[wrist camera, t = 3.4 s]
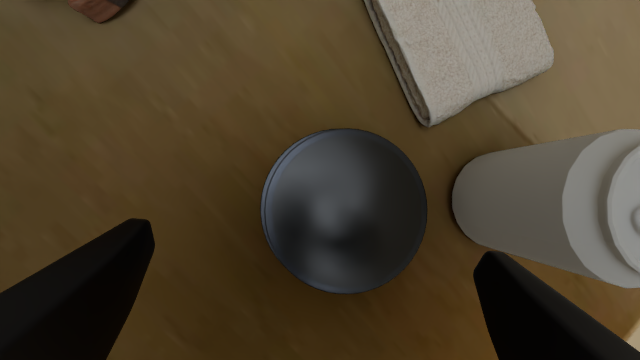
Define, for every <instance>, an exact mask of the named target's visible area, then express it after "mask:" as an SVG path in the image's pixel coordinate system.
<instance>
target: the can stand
mask: <svg viewBox="0 0 640 360" xmlns="http://www.w3.org/2000/svg"><path fill="white" fill-rule="evenodd" d="M260 211H261V222H262V227H263V231H264V234H265V237H266V240H267V242H268V244H269V246H270V248H271V250H272V252H273V253H274V255H275V256H276V258H277V259H278V260H279V261H280V262H281V263H282V265H283V266H284V267H285V268H287V269H288V271H290V272H291V273H292V274H293V275H294V276H295V277H296V278H298V279H299V280H301V281H302V282H304V283H305V284H307V285H309V286H311V287H314V288H316V289H319V290H322V291H325V292H330V293H335V294H355V293H361V292H366V291H369V290H372V289H375V288H377V287H380V286H382V285H383V284H385V283H387V282H389V281H390V280H392V279H393V278H394V277H396V276H397V275H398V274H399V273H400V272H401V271H402V270H404V269H405V267H406V266H407V265H408V264H409V263H410V261H411V260H412V259H413V257H414V255H415V254H416V252H417V250H418V248H419V246H420V244H421V242H422V239H423V236H424V233H425V228H426V223H427V199H426V194H425V189H424V186H423V183H422V180H421V178H420V176H419V174H418V172H417V170H416V168H415V167H414V165H413V164H412V162H411V161H410V160H409V158H408V157H407V156H406V155H405V154H404V153H403V152H402V151H401V150H400V149H399V148H398V147H397V146H395V145H394V144H393V143H391V142H390V141H388V140H387V139H385V138H383V137H381V136H379V135H376V134H374V133H371V132H368V131H363V130H359V129H329V130H323V131H319V132H316V133H313V134H310V135H308V136H306V137H304V138H302V139H300V140H299V141H297V142H296V143H294V144H293V145H291V146H290V147H289V148H288V149H287V150H285V151H284V153H283V154H282V155H281V156H280V157H279V158H278V159H277V161H276V162H275V164H274V165H273V166H272V168H271V170H270V172H269V174H268V176H267V178H266V181H265V184H264V187H263V191H262V196H261V206H260Z"/></svg>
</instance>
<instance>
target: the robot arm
mask: <svg viewBox="0 0 640 360" xmlns="http://www.w3.org/2000/svg"><path fill="white" fill-rule="evenodd" d="M154 248H155V242H154V237H153V233H152V228H151V224H150V222H149V221H148V220H146V219H136V218H131V219H128V220H126V221H125V222H123V223H121V224H119V225H118V226H116V227H114V228H113V229H111V230H109V231H107V232H106V233H104V234H102V235H100V236H99V237H97V238H95V239H93V240H92V241H90V242H88V243H87V244H85V245H83V246H81V247H80V248H78V249H76V250H74V251H73V252H71V253H69V254H67V255H66V256H64V257H62V258H61V259H59V260H57V261H55V262H54V263H52V264H50V265H48V266H47V267H45V268H43V269H42V270H40V271H38V272H36V273H35V274H33V275H31V276H29V277H28V278H26V279H24V280H22V281H21V282H19V283H17V284H16V285H14V286H12V287H10V288H9V289H7V290H5V291H3V292H2V293H0V360H106V359H107V357H108V355H109V353H110V351H111V349H112V347H113V345H114V343H115V341H116V339H117V337H118V335H119V333H120V331H121V329H122V327H123V325H124V323H125V321H126V320H127V317H128V315H129V313H130V311H131V309H132V307H133V304H134V302H135V300H136V297H137V294H138V292H139V289H140V286H141V284H142V281H143V279H144V276H145V273H146V271H147V268H148V265H149V263H150V260H151V258H152V255H153V252H154ZM473 277H474V282H475V285H476V289H477V293H478V296H479V300H480V304H481V307H482V311H483V314H484V318H485V322H486V325H487V328H488V332H489V334H490V337H491V340H492V343H493V345H494V348H495V351H496V353H497V356H498V359H499V360H640V352H639V351H637V350H636V349H635V348H633V347H632V346H631V345H629V344H628V343H627V342H625V341H624V340H622V339H621V338H620V337H618V336H617V335H616V334H614V333H613V332H612V331H610V330H609V329H607V328H606V327H605V326H603V325H602V324H601V323H599V322H598V321H596V320H595V319H594V318H592V317H591V316H590V315H588V314H587V313H586V312H584V311H583V310H581V309H580V308H579V307H577V306H576V305H575V304H573V303H572V302H570V301H569V300H568V299H566V298H565V297H564V296H562V295H561V294H560V293H558V292H557V291H555V290H554V289H553V288H551V287H550V286H549V285H547V284H546V283H545V282H543V281H542V280H540V279H539V278H538V277H536V276H535V275H534V274H532V273H531V272H529V271H528V270H527V269H525V268H524V267H523V266H521V265H520V264H519V263H517V262H516V261H514V260H513V259H512V258H510V257H509V256H508V255H506V254H505V253H503V252H496V251H487V252H486V253H485V254H484V255H483V257H482V258H481V260H480V261H479V263H478V265H477V266H476V268H475V269H474V273H473Z"/></svg>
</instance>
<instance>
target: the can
mask: <svg viewBox="0 0 640 360" xmlns="http://www.w3.org/2000/svg"><path fill="white" fill-rule="evenodd" d="M452 209H453V212H454V215H455V218H456V221H457V223H458V225H459V226H460V228H461V229H462V230H463V232H464V233H465V235H466V236H468V237H469V238H470V239H472V240H473V241H474V242H476V243H477V244H480V245H483V246H486V247H489V248H492V249H496V250H499V251H502V252H506V253H509V254H512V255H516V256H519V257H523V258H526V259H529V260H533V261H536V262H539V263H543V264H546V265H550V266H553V267H556V268H560V269H563V270H566V271H570V272H573V273H577V274H580V275H583V276H587V277H590V278H593V279H597V280H600V281H604V282H607V283H610V284H614V285H617V286H620V287H624V288H640V130H639V129H619V130H614V131H608V132H603V133H597V134H591V135H586V136H580V137H575V138H569V139H564V140H558V141H553V142H547V143H541V144H536V145H530V146H525V147H519V148H514V149H508V150H503V151H497V152H491V153H488V154H485V155H482V156H479V157H476V158H475V159H473V160H472V161H471V162H469V163H468V164H467V165H465V166H464V168H463V169H462V171H461V172H460V174H459V175H458V177H457V178H456V181H455V185H454V188H453V192H452Z"/></svg>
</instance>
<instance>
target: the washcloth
mask: <svg viewBox="0 0 640 360" xmlns="http://www.w3.org/2000/svg"><path fill="white" fill-rule="evenodd" d="M364 2H365V5H366V7H367V10H368V13H369V15H370V18H371V20H372V21H373V24H374V27H375V29H376V31H377V34H378V36H379V38H380V40H381V42H382V44H383V45H384V47H385V50H386V52H387V54H388V57H389V59H390V61H391V64H392V65H393V69H394V70H395V73H396V75H397V77H398V79H399V82H400V84H401V87H402V89H403V91H404V93H405V95H406V98H407V100H408V102H409V104H410V106H411V108H412V110H413V112H414V113H415V115H416V117H417V119H418V120H419V121H420V122H421V123H422V124H423V125H424V126H426V127H430V126H432V125H435V124H439V123H441V122H442V121H444V120H446V119H447V118H449V117H452V116H454V115H455V114H457V113H459V112H460V111H462V110H463V109H464V108H465V107H467V106H469V105H470V104H471V103H472V102H474V101H476V100H478V99H481V98H483V97H486V96H488V95H490V94H492V93H499V92H502V91H505V90H507V89H509V88H512V87H515V86H517V85H520V84H522V83H523V82H525V81H527V80H528V79H530V78H533V77H535V76H538V75H539V74H541V73H544V72H546V71H547V70H548V69H549V68H550V67H551V66H552V64H553V60H554V59H553V57H554V51H553V48H552V47H551V45H550V43H549V40H548V36H547V35H546V30H545V29H544V27H543V24H542V20H541V18H540V17H539V16H538V14H537V12H536V11H535V8H536V6H535V5H534V4H533V2H532V0H364Z"/></svg>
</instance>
